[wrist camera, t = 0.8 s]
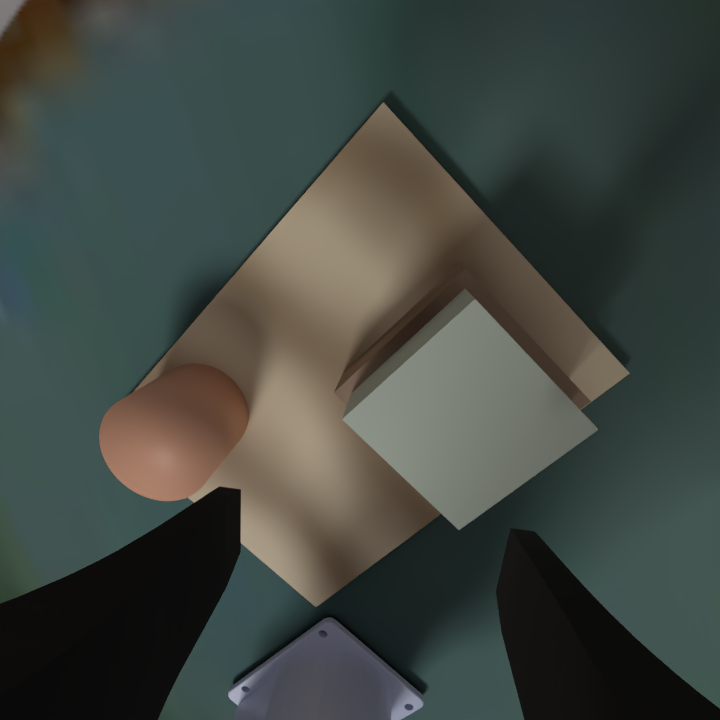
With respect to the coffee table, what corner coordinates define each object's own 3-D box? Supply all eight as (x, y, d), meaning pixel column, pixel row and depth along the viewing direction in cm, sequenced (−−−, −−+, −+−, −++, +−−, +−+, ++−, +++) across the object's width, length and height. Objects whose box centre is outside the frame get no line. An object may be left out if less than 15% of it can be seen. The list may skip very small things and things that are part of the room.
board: (317, 600, 25) (315, 607, 24) (110, 421, 23) (104, 425, 22) (624, 369, 19) (629, 373, 18) (383, 105, 17) (383, 102, 17)
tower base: (446, 473, 21) (451, 505, 18) (342, 373, 20) (333, 392, 18) (567, 379, 19) (590, 401, 16) (458, 263, 18) (466, 268, 16)
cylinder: (208, 471, 22) (167, 521, 18) (136, 407, 22) (77, 445, 18) (268, 412, 21) (236, 453, 17) (192, 343, 20) (142, 369, 16)
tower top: (452, 490, 18) (458, 530, 16) (351, 393, 17) (341, 419, 15) (571, 400, 17) (598, 429, 14) (465, 288, 16) (475, 298, 13)
